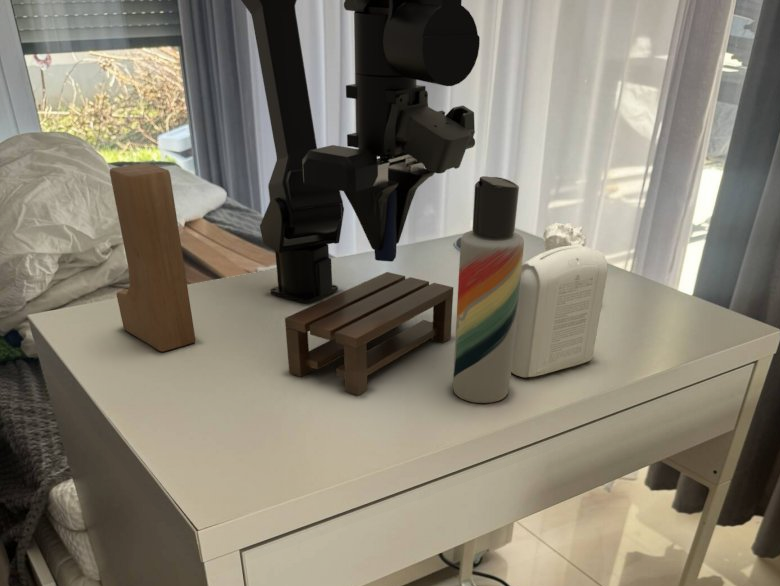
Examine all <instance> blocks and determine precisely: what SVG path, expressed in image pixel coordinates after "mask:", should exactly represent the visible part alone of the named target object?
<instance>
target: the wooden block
mask: <svg viewBox="0 0 780 586" xmlns="http://www.w3.org/2000/svg"><path fill="white" fill-rule="evenodd" d="M109 177H110V180H111V186H112V192H113V196H114V201H115V207H116V212H117V217H118V218H117V219H118V222H119V223H118V224H119V228H120V231H121V237H122V241H123V247H124V253H125V258H126V263H127V267H128V268H127V269H128V277H129V278H128V280H129V286H128V288H126V289H122V290H121V289H120V290H119V291H117V292H116V298H117V303H118V309H119V313H120V318H121V323H122V327H123V329H124V330H125V331H126V332H128V333H129V334H131V335H133V336H134V337H136V338H138V339H140V340H141V341H143V342H144V343H146V344H148V345H149V346H151V347H153V348H154V349H156V350H157V351H159V352H163V353H164V352H167V351H170V350H174V349H177V348H180V347H185V346H188V345H190V344H195V343H196V340H197V339H196V334H195V325H194V322H193V321H194V320H193V316H192V307H191V301H190V295H189V289H188V288H189V287H188V282H187V275H186V269H185V263H184V262H185V261H184V254H183V248H182V242H181V236H180V228H179V224H178V216H177V209H176V204H175V197H174V190H173V184H172V178H171V177H172V176H171V173H170V170H169V169H166V168H163V167H161V166H159V165H155V164H152V163H149V162H143V163H135V164H130V165H122V166H116V167H115V166H114V167H112V168H110V169H109Z"/></svg>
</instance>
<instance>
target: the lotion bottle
mask: <svg viewBox="0 0 780 586" xmlns="http://www.w3.org/2000/svg"><path fill="white" fill-rule="evenodd" d="M519 191H520V186H519V185H518V184H517V183H515V182H513V181H511V180H509V179H507V178H504V177H499V176H487V175H485V176H480V177H479V179H478V181H476V183H475V184H474V194H473V211H472V228H471V229H472V230H469V231H466V232H464V233H463V235H462V236H461V239H460V248H459V264H458V265H459V267H458V283H457V284H458V285H457V302H456V303H457V304H456V316H455V317H456V318H455V319H456V320H455V338H454V353H453V354H454V356H453V373H452V374H453V376H452V390H453V392H454V394H455V395H456V396H457V397H459V398H460V399H462V400H465V401H467V402H470V403H476V404H477V403H478V404H489V403H495V402H498V401H501V400H503V399H504V398H506V397H507V395H508V393H509V391H510V383H511V376H512V372H511V367H512V357H513V347H514V338H515V328H516V319H517V309H518V299H519V290H520V280H521V270H522V265H523V259H524V251H525V249H524V248H525V239H524V237H523V236H522V235H521V234H519V233H516V232H515V231H516V230H515V229H516V222H517V221H516V219H517V210H518V202H519Z"/></svg>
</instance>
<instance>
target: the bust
mask: <svg viewBox="0 0 780 586" xmlns="http://www.w3.org/2000/svg"><path fill="white" fill-rule="evenodd" d="M582 231H583V226H577V227H574V226H573V225H572V222H571V221H570V222H566V223H559V222H556V221H554V223H552V224H550V225H548V226H547V227H546V228H545V229H544V231H543V241H542V242H543V244H544V249H545V252H546V251H549V250H552V249H555V248H558V247H563V246H586V244H587V241H586V237H585V236H584V235H583V232H582Z"/></svg>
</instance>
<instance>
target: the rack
mask: <svg viewBox="0 0 780 586" xmlns="http://www.w3.org/2000/svg"><path fill="white" fill-rule="evenodd" d="M453 300H454V286H450V285H447V284H446V285H445V284H441V283H437V282H433V283H430V281H429V280H424V279H421V278H420V279H419V278H414V277H413V276H412V277H410V276H409V277H407V278H406V275H402V274H398V273H393V272H389V271H386V272H383V273H381V274H379V275H376V276H375V277H373V278H370V279H368V280H366V281H363V282H361V283H359V284H357V285H355V286H353V287H350V288H347V289H346V290H343V291H342V292H339V293H337V294H335V295H333V296H330V297H328V298H325V299H323V300H321V301H319V302H317V303H315V304H313V305H310V306H309V307H306V308H304V309H302V310H300V311H298V312H295V313H292V314H290V315H289V316H286V317H284V326H285V338H286V351H287V361H288V362H287V363H288V373H289V374H290V375H293V376H297V377H299V378H302V377H303V376H305V375H307V374H309V373H310V372H311V368H312V369H315V370H319V369H321V368H323V367H325V366H327V365H329V364H330V363H332V362H335V361H336V360H339V359H340V358H342V357H343V356H344V357H343V358H344V364H342V365H340V366H338V367H337V368H336V372H335V373H336V376H337V377H340V378H343V379H344V385H345V386H344V387H345V388H344V389H345V393H349V394H351V395H354V396H360V395H361V394H363V393H365V392H367V391H368V376H369V375H371V374H373V373H374V372H377V371H378V370H380V369H382V368H383V367H385V366H386V365H387V364H389V363H391V362H393V361H394V360H396V359H398V358H400V357H401V356H403V355H406V353H408V352H410V351H411V350H413V349H415V348H417V347H419V346H420V345H421V344H423V343H425V342H427V341H428V340H430V339H431V340H432V341H435V342H439V343H443V344H444V343H446V342H448V341H449V340H451V339H452V338H451V337H452V324H453V323H452V321H453V319H452V318H453V304H454V303H453V302H454V301H453ZM430 309H432V310H433V311H432V321H429V320H426V319H423V320H421V321H419V322H417V323H415V324H413V325H412V326H410V327H408V328H406V329H404V330H402V331H401V332H398V334H396V335H394V336H392V337H390V338H388V339H387V340H385V341H383V342H381V343H379V344H378V345H375V346H374V347H372V348H370V349H369V350H367V343H369V342H371V341H373V340H375V339H376V338H379V337H380V336H382V335H384V334H386V333H388V332H389V331H391V330H393V329H395V328H396V327H398V326H401V325H402V324H404V323H406V322H407V321H410V320H411V319H414V318H415V317H417V316H419V315H421V314H423V313H424V312H426V311H428V310H430ZM309 335H310V336H314V337H317V338H320V339H324V340H327V341H326V342H324V343H322V344H320V345H318V346H316V347H314V348H313V349H311V350H310V348H309Z"/></svg>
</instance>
